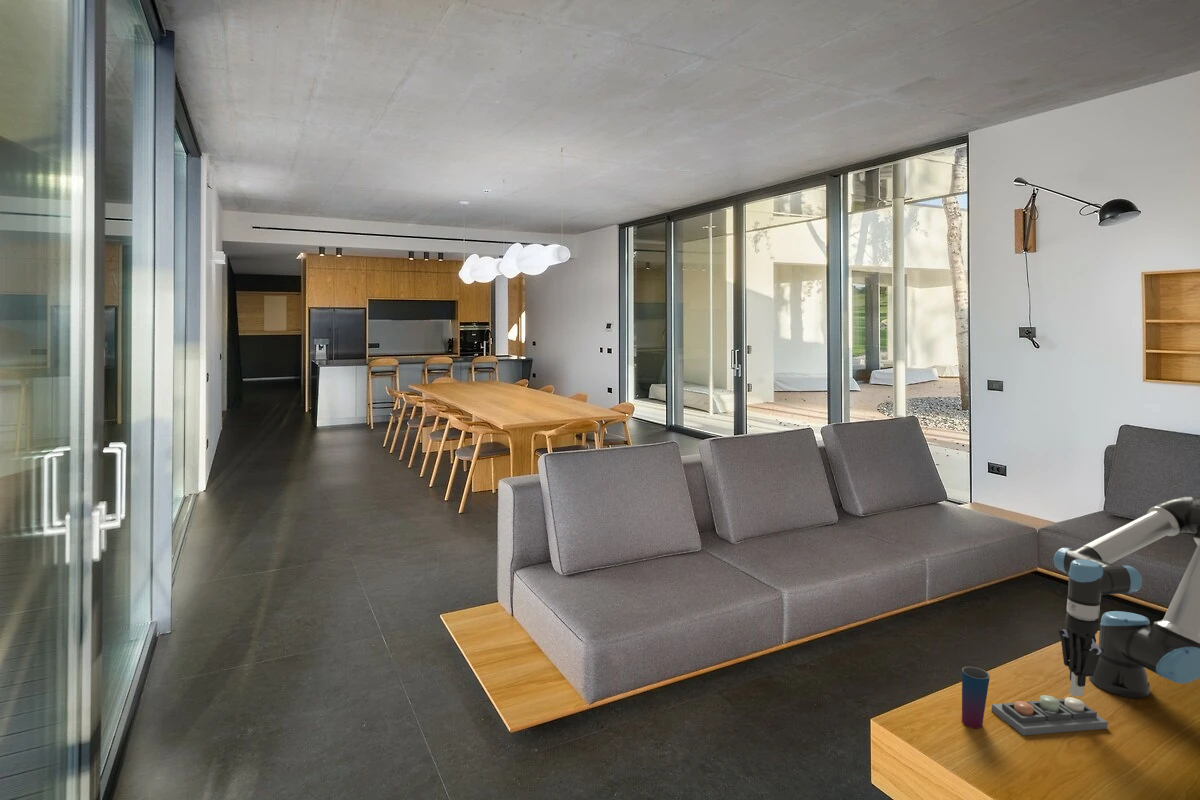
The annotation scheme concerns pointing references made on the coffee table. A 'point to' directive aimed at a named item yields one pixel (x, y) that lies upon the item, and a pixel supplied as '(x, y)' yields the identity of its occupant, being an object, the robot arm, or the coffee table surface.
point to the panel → (1049, 719)
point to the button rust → (1023, 708)
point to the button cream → (1074, 704)
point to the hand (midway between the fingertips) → (1076, 694)
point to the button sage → (1049, 703)
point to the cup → (974, 695)
